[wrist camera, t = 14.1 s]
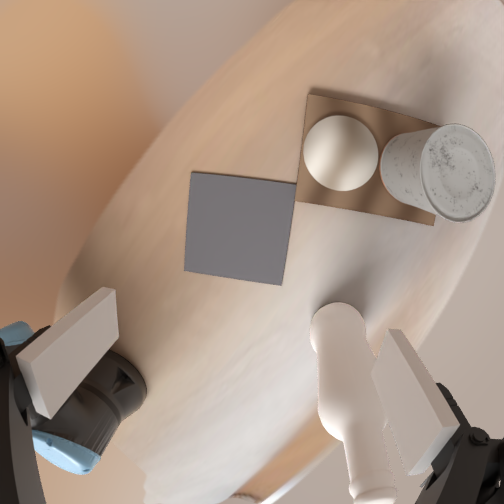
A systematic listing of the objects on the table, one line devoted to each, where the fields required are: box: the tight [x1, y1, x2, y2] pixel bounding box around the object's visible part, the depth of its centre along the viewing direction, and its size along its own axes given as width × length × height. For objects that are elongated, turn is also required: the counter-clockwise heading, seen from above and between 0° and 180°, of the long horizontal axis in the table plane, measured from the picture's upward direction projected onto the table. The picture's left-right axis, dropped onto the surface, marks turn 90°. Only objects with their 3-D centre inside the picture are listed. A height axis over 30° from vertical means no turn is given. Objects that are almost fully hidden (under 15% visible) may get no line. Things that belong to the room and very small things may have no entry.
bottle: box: [309, 302, 397, 504], centre depth 29 cm, size 8×8×30 cm
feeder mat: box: [184, 172, 296, 286], centre depth 41 cm, size 14×14×1 cm
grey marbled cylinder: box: [380, 124, 495, 223], centre depth 29 cm, size 10×10×12 cm
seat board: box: [295, 94, 441, 226], centre depth 36 cm, size 20×14×2 cm
